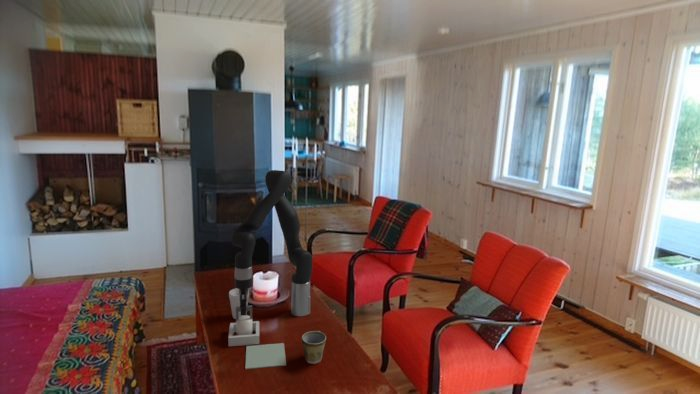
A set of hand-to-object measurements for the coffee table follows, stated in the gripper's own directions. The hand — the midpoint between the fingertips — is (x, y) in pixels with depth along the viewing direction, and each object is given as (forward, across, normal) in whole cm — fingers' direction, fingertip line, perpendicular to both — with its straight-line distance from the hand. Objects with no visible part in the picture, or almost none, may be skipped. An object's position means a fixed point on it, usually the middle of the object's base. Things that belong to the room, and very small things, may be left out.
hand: (243, 310), depth 185 cm
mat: (+13, -16, -9) cm, 23 cm away
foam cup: (+13, +20, +3) cm, 24 cm away
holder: (+13, 0, 0) cm, 13 cm away
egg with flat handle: (+13, 0, 0) cm, 13 cm away
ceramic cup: (+13, -20, -29) cm, 38 cm away
